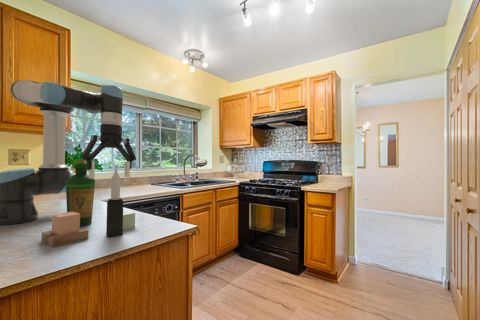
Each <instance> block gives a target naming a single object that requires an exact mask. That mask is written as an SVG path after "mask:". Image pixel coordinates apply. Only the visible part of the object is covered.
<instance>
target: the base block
mask: <svg viewBox="0 0 480 320" xmlns="http://www.w3.org/2000/svg"><path fill="white" fill-rule="evenodd" d="M89 232H90V231H89V229H86V228H84V227H82V226H80V231H76V232H72V233H67V234H63V235H57V234H55V233H53V232H52V229H51V230H47V231H42V232H41V242H42V241H43V242H42V243H44V244H46V245H48V246H50V247H52V248H57V247H62V246H64V245H68V244H72V243H73V244H74V243H76V242H80V241H84V240H89Z"/></svg>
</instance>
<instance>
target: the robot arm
mask: <svg viewBox="0 0 480 320" xmlns="http://www.w3.org/2000/svg"><path fill="white" fill-rule="evenodd" d="M9 90H10V94H11V96H12V97H13V98H14V99H15V100H17V101H18V102H20V103H23V104H24V105H27V106H31V107H34V108H35V107H36V108H39V112H40V113H41V115H42V116H43V132H42V133H43V137H42V138H43V139H42V140H43V141H42V142H43V143H42V164H41V165H40V166H38V169H37V170H35V168H32V167H30V168H28V167H27V168H17V169H16V168H15V169H9V170H8V169H7V170H3V171H1V172H0V226H7V225H14V224H15V225H18V224H22V223H28V222H31V221H32V222H33V221H35V220H37V219H38V218H39V213H38V212H39V211H38V210H37V207H36V205H35V202H34V198H35V197H34V196H42V195H58V194H62V193H63V194H64V193H66V181H67V180H68V178H70V177H71V176H73V175H74V173H73V172H72V170H69V166H67V165H66V160H65V159H66V130H67V129H66V127H67V126H66V125H67V124H66V123H67V118H68V117H69V116H70V114H71V113H73V112H74V111H75V109H78V110H81V111H85V112H87V113H89V114H100V126H99V128H100V130H99V131H100V133H99V134H100V135H97V134H91V136H90V140H89V142H88V143H87V146H86V147H85V149H84V151H83V152H82V154H81V156H80V160H86V165H87V166H86V168H87V171H88V175H89V178H90V179H94V180H95V171H96V170H95V169H96V166H95V163H96V162H95V161H94V159H95V158H96V157H97V156H98V155H99V154H100V153H101V152H102V151H103V150H104V149H105V148H107V149H109V148H110V149H116V150H117V151H118V152H119V153H120V154H121V156H122V157H123V158H124V160H126V161H124V177H125V178H130V177H131V175H130V173H131V172H130V171H131V170H132V169H133V168H132V165H133V164H132V163H133V162H134V161H136V160H137V157H136V155H135V152H134V149H133V147H132V145H131V144H130V138H129V137H126V138H125V137H124V138H123V137H122V135H123V127H122V125H123V105H124V104H123V98H124V97H123V89H122V88H121V87H120V86H117V85H115V84H107V83H106V84H102V85H101V88H100V92H98V93H94V92H90V91H85V90H83V89H78V88H74V87H71V86H67V85H65V84H64V85H63V84H60V83H57V82H52V81H44V82H38V81H36V80H26V79H19V80H16V81H14V82H12V83H11V84H10V88H9ZM99 141H100V143H99V144H98V145H97V146H96V148H95V149H94V150H93V148H94V147H95V145H96V143H97V142H99ZM122 143H123V144H122ZM123 145H124V146H123ZM92 150H93V151H92Z"/></svg>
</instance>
